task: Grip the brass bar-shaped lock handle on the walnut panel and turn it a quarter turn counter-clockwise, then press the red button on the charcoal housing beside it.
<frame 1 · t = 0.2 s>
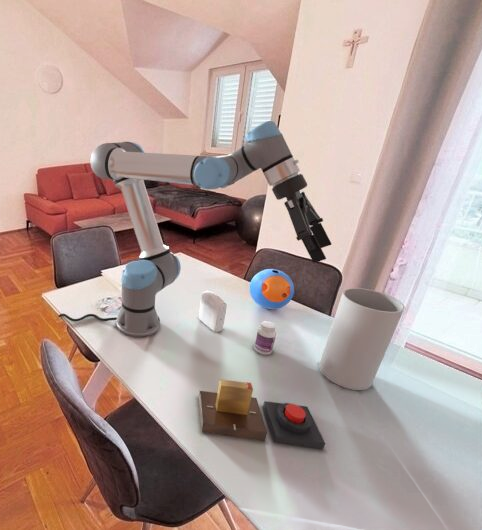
hand: (323, 253, 81), 36 cm above the table, tool tilted 35°, fingers open, 13 cm apart
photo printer: (210, 324, 113), on the table
button box: (290, 427, 74), on the table
treat dispenser ball: (267, 306, 125), on the table
cylinder vase: (343, 375, 90), on the table
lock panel: (229, 418, 76), on the table
lock handle: (233, 396, 74), point 7 cm above the table, hinge at 0.0°
pill bottle: (262, 350, 100), on the table
button: (294, 413, 72), point 4 cm above the table, slide at 0.1 cm
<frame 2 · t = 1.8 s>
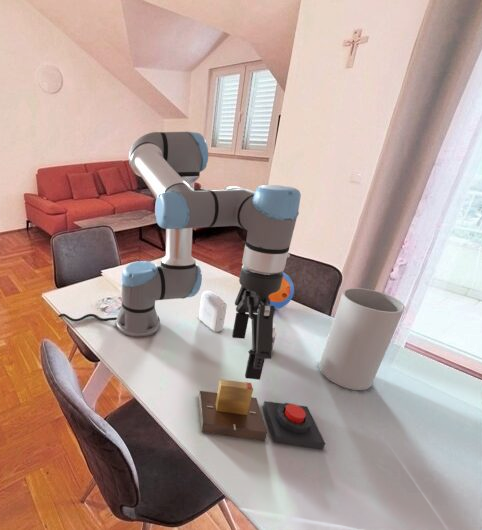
hand: (244, 355, 69), 19 cm above the table, tool pointing down, fingers open, 13 cm apart
nothing on the table moved.
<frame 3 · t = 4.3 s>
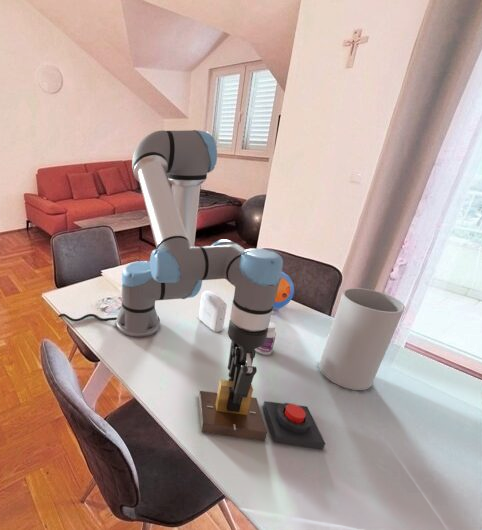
hand: (231, 405, 75), 4 cm above the table, tool pointing down, fingers closed on lock handle, 2 cm apart
lock handle: (233, 396, 74), point 7 cm above the table, hinge at 0.0°, touching gripper
everything else where it was.
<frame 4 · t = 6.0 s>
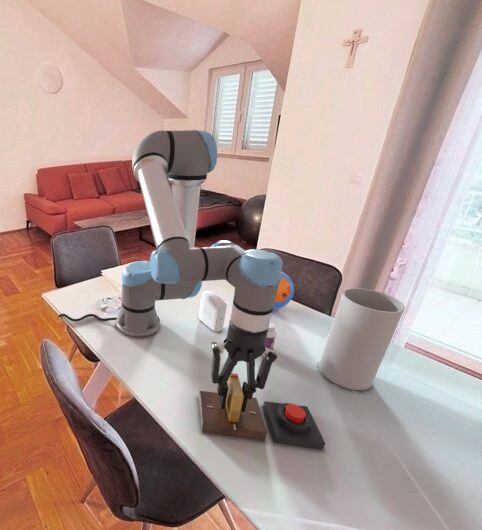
hand: (231, 405, 75), 4 cm above the table, tool pointing down, fingers open, 4 cm apart
lock handle: (233, 396, 74), point 7 cm above the table, hinge at 89.8°
everything else where it was.
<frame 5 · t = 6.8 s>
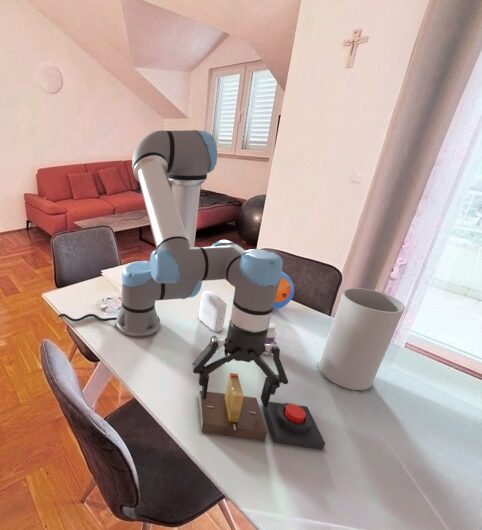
hand: (233, 398, 74), 7 cm above the table, tool pointing down, fingers open, 13 cm apart
nothing on the table moved.
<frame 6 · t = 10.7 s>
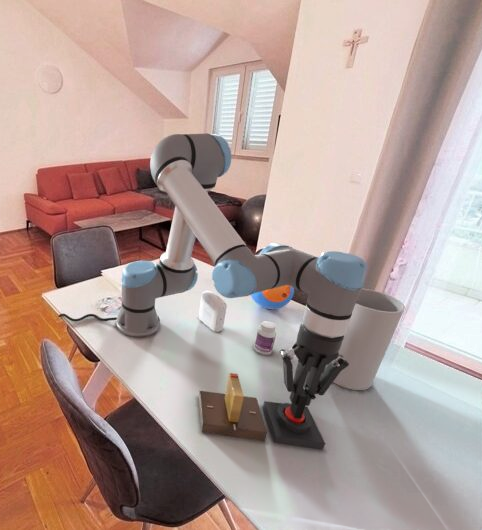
hand: (295, 413, 72), 5 cm above the table, tool pointing down, fingers closed
button: (294, 416, 73), point 4 cm above the table, slide at -0.8 cm, touching gripper
everything else where it was.
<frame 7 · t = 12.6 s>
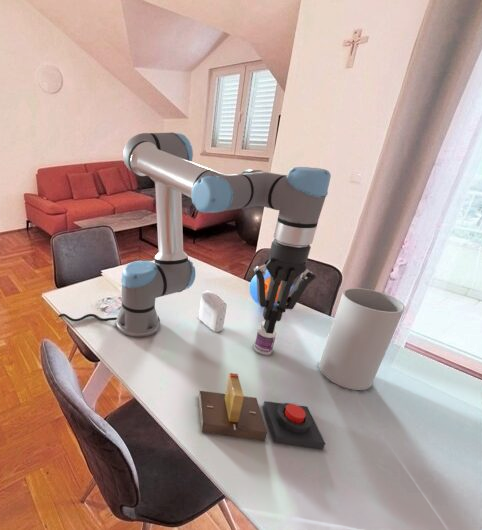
hand: (268, 330, 78), 19 cm above the table, tool pointing down, fingers closed
button: (294, 413, 72), point 4 cm above the table, slide at 0.1 cm
everything else where it was.
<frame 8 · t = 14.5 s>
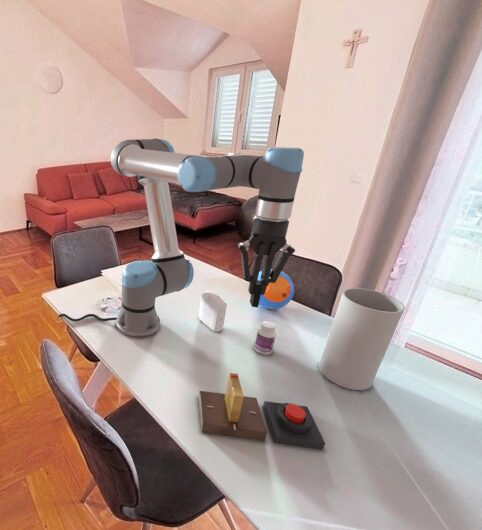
hand: (253, 304, 83), 22 cm above the table, tool pointing down, fingers closed
nothing on the table moved.
at the end: lock handle at +90° (first picture: +0°); button pushed in 1.0 cm at the most during the clip, back to where it started at the end; button slide at 0.1 cm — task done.
